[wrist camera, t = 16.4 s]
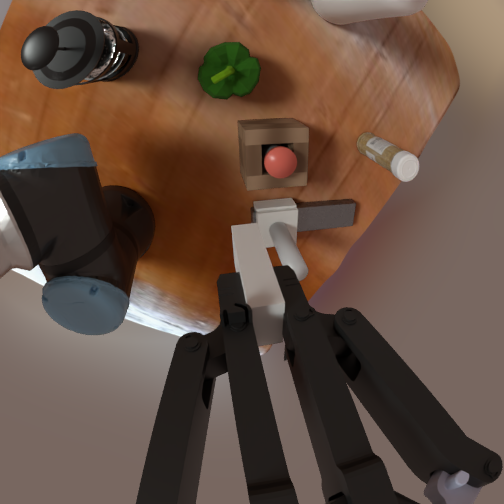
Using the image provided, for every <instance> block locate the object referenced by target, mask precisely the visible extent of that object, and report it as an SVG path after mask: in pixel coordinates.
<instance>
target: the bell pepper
mask: <svg viewBox="0 0 504 504" xmlns="http://www.w3.org/2000/svg"><path fill="white" fill-rule="evenodd" d="M260 71H261V67H260V64H259V61H258V58H254V57H250V54H249V50H248V49H247V48H246V47H245V46H243V45H242V44H241V43H240V42H224V43H222V44H219V45H217V46H214V47H212V48H210V49H209V51H208V52H207V53H206V55H205V56H204V64H203V65H202V66H200V67H199V73H198V80H199V82H200V84H201V86H202V88H203V90H204V91H205V92H206V93H208V94H209V95H210V96H212V97H213V98H219V99H228V98H229V97H230V96H231V95H232V94H234V95H237V96H240V97H242V96H245V95H247V94H250V93H251V91H252V90H253V89H254V87H255V86H256V84H257V83H258V81H259V76H260Z"/></svg>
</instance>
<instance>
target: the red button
mask: <svg viewBox="0 0 504 504" xmlns="http://www.w3.org/2000/svg"><path fill="white" fill-rule="evenodd" d="M261 150H262V157H263V158H264V166H265V168H266V170H267V172H268V173H269V174H270V175H271V176H273V177H275V178H286V177H288V176H290V175H291V174H292V173H293V172H294V171H295V169H296V166H297V158H296V156H295V154H294V153H293V152H292V151H291V150H290V149H289V148H287V147H284V146H280V145H279V144H262V145H261Z"/></svg>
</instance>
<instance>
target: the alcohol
mask: <svg viewBox="0 0 504 504" xmlns="http://www.w3.org/2000/svg"><path fill="white" fill-rule="evenodd" d="M427 1H428V0H311V3H312V5H313V8H314V9H315V11H316V12H317V13H318V14H319V16H321V17H322V18H323V19H325V20H326V21H328V22H330V23H333V24H337V25H345V24H351V23H356V22H362V21H368V20H375V19H382V18H390V17H399V16H408V15H412V14H414V13H416V12H418V11H420V10H422V9H423V8H424V7H425V5H426V3H427Z"/></svg>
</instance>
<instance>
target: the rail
mask: <svg viewBox="0 0 504 504" xmlns="http://www.w3.org/2000/svg"><path fill="white" fill-rule="evenodd" d="M295 204H296V205H297V206H296V207H297V209H298V222H297V232H300V231H309V230H318V229H327V228H337V227H346V226H353V219H354V213H355V206H356V203H355V202H354V201H353V200H352V199H343V200H329V201H317V202H305V203H295ZM251 223H256V211H255V209H254V207H253V208H251Z"/></svg>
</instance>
